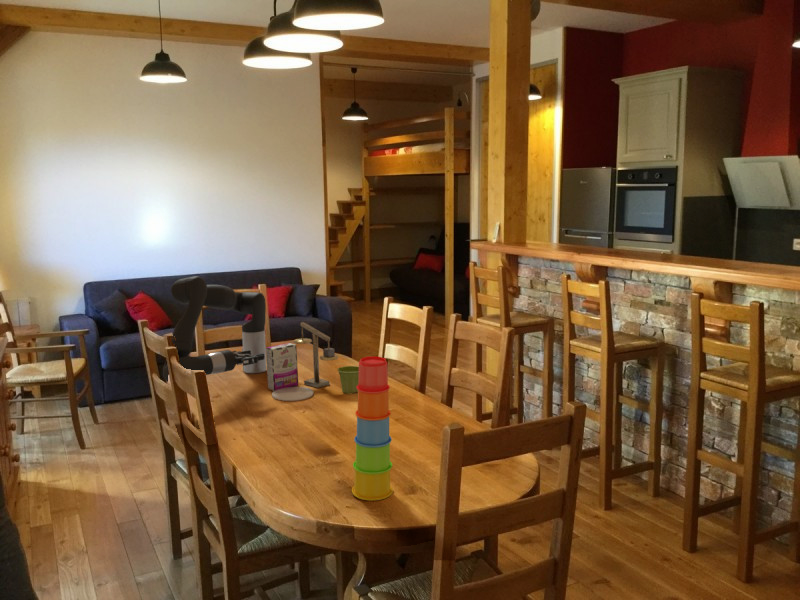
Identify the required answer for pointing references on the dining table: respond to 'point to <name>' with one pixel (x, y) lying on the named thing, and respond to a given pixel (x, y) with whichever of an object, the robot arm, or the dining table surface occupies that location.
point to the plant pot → (349, 378)
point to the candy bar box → (282, 366)
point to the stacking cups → (372, 432)
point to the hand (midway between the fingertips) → (256, 354)
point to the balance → (327, 355)
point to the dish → (292, 393)
